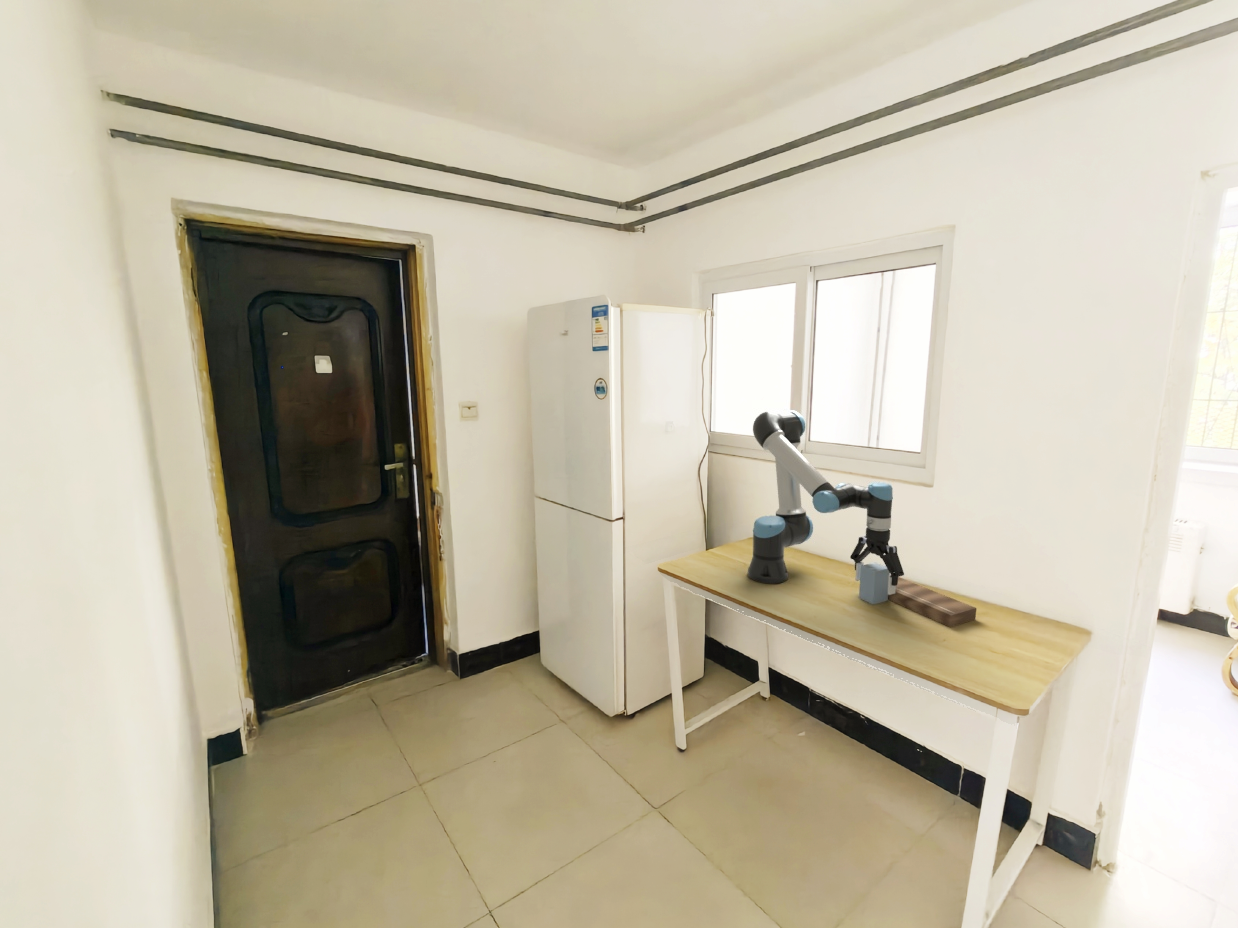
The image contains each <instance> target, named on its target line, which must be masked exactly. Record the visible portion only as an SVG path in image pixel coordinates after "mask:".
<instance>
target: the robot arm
mask: <svg viewBox="0 0 1238 928" xmlns="http://www.w3.org/2000/svg"><path fill="white" fill-rule="evenodd" d="M805 431H806V422H805V419H804V417H803V415H802V414H800V413H799V412H798V411H796V410H793V409H792V410H791V409H783V410H772V411H771V410H770V411H764V412H761V413H760V414H759V415H758V416H757V417H756V418H755V420H754V422H753V424H752V432H753V433H752V434H753V437H754V438H755V440H756V441H757V443H758V444H759V445H760V446H761V447H762V448H763V450H764V451H769V453H770V454H771V455H773V457H774V459H775V471H776V472H775V473H776V486H777V498H778V499H777V500H778V509H777V510H776V511H775V515H764V516H761V517H758V518H757V519H755V520H754V522H753V529H752V532H753V533H752V537H753V538H752V557H751V558H752V559H751V560H750V564H749V566H748V567H747V577H748V578H749V579H750V580H752V581H755V582H757V583H762V584H774V585H775V584H780V583H784V582H786V581H787V580H788V577H789V576H788V569H787V566H786V563H785V562H786V561H785V559H784V557H785V548H786V549H787V548H789V547H793V546H796V545H801V544H803V543H804V542H806V541H808V540H809V539H811V537H812V535H813V532H814V524H813V521H812V519H811V518H810V516H809V515H807V511H806V509H804V508H803V506H802V498H801V487H803V489H804V490H805V491H806V492H807V493H808V494H809V496H810V497H812V506H813V507H814V509H815V511H817V512H818V513H820V514H831V513H835V512H836V511H840V510H845V509H849V508H852V507H853V508H860V509H866V525H865V526H866V528H865V535H864V536H860V537H859V536H858V539H857V540H858V541H857V543H856V545H855V547H854V548H853V551H852V553H851V555H850V560H853V561H854V571H855V581H856V582H860V573H861V566H862V565H865V564H864V562H863V560H865V558H867V557H868V556H869V555H870V554H872V555H876V556H877V557H879V558H880V559H882V561H883V563H884V566H886V567H887V569H888V570H889V572H890V575H889V580H888V594H889V595H891V594H895V590H896V585H897V584H898V577H902V576H903V577H904V576H905V572H904V570H903V566H902V564H901V560H900V557H899V555H898V547H897V546H896V545H893V546H892V545H889V541H890V539H891V530H890V529H891V527H892V526H891V525H892V506H893V499H894V498H893V496H894V495H893V487H892V485H891V484H889V483H885V482H871V483H870V482H869V484H868V485H867V486H868V487H867V486H861V485H856V484H851V483H838V484H837V486H835V487H834V485H832V484H831V483H830V482H829V481H828V480H827V479H826V478H825V477H824V476H823V474H821V473H820V472H819V471H818V470H817V468H816V467H814V466H813V465H812V464H811V462H810V461H808V459H807V458H806V457H805V456H804V455H803V454H802V453H801V452H800V451H799V450H798V446H799V445H800V444H801V437H802V436H803V434H804V433H805ZM865 546H866V547H865ZM864 547H865V548H864ZM862 550H863V551H862Z"/></svg>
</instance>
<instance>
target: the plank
mask: <svg viewBox="0 0 1238 928" xmlns="http://www.w3.org/2000/svg"><path fill="white" fill-rule="evenodd" d="M888 601H891V602H893V603H895V604H897V605H900V606H902V607H904V608H906V609H908V610H911V611H912V612H915V613H917V614H920V615H922V616H924V617H927V618H928V619H931V620H932V621H935V622H937V623H940V624H942V625H943V626H946V627H949V628H952V627H956V626H958V625H963V624H965V623H968V622H969V623H970V622H971V621H975V620H976V616H977V607H976V606H973V605H971V604H968V603H965V602H963V601H960V600H957V599H956V598H952V597H951V596H947V595H945V594H942V593H940V592H937V591H934V590H933V589H930V588H927V587H924V586H923V585H919V584H918V583H915V582H912V581H909V580H907V579H904V578H902V577H901V576H899V577H898V584H897V585H896V590H895V594H891V595H889V594H888Z"/></svg>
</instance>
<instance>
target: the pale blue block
mask: <svg viewBox="0 0 1238 928" xmlns="http://www.w3.org/2000/svg"><path fill="white" fill-rule="evenodd" d="M890 575H891V574H890V572H889V570H888V569H887V567H886V565H884V564H881V563H878V562H872V563H868V564H863V565H862V566H861V573H860V580H859V590H858V598H859V599H860V600H863V601H865V602H866V603H869V604H870V605H877V604H880V603H884V602H888V601H889V600H888V580H889V576H890Z"/></svg>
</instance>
